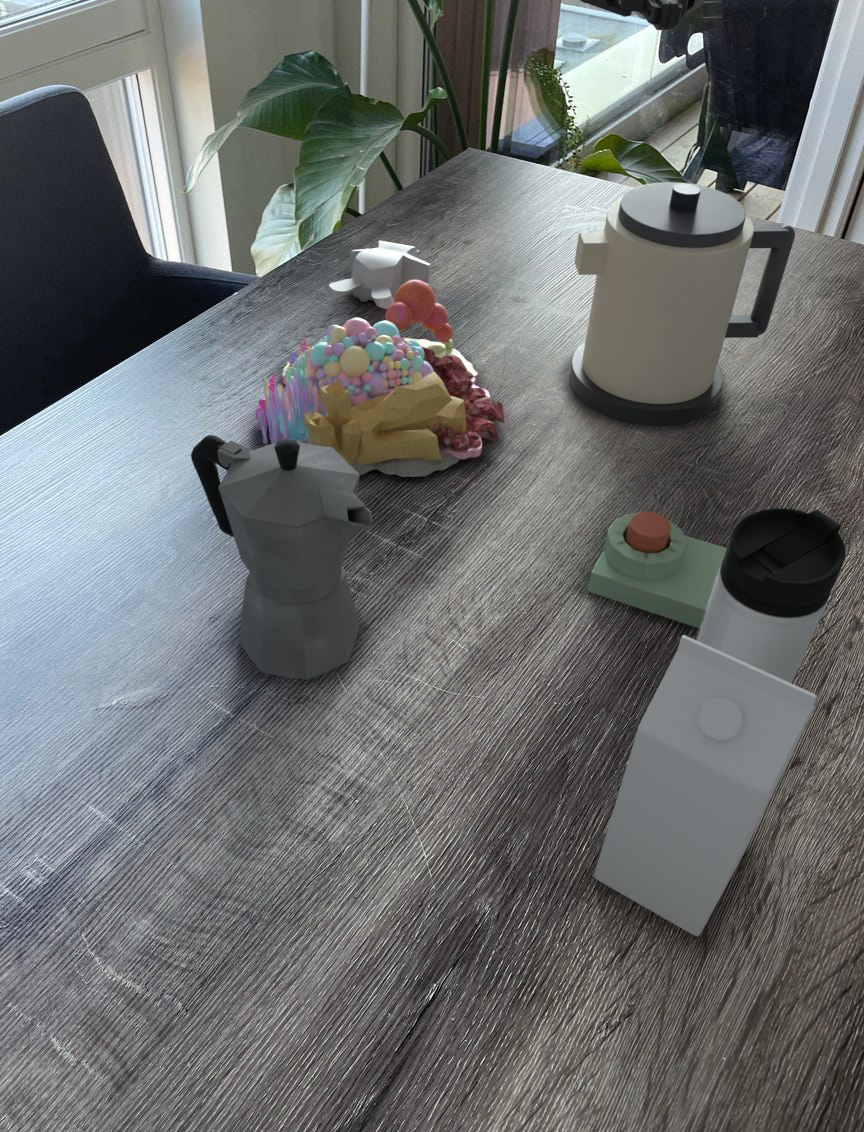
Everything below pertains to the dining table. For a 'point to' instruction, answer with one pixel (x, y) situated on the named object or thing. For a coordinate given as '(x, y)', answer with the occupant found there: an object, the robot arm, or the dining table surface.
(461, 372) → the pastel sphere sculpture
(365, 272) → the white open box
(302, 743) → the dining table surface
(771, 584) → the travel mug
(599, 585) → the button base
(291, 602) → the coffeepot
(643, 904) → the milk carton
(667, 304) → the kettle
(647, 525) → the red button cap
